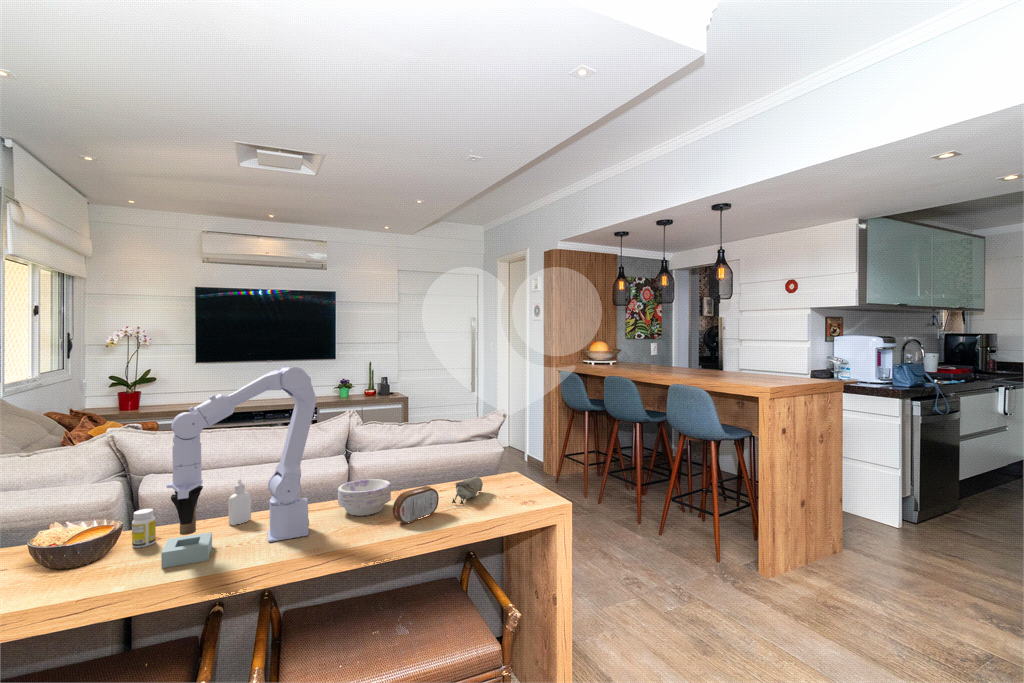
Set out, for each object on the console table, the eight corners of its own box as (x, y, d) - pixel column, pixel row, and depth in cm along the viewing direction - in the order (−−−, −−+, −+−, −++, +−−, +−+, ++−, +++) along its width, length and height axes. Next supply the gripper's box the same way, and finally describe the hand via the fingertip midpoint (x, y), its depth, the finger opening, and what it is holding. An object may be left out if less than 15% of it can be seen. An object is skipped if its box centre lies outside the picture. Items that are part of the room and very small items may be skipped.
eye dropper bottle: (228, 522, 140) (227, 479, 140) (250, 518, 143) (250, 476, 143) (229, 527, 136) (228, 483, 136) (252, 522, 139) (251, 480, 139)
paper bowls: (364, 500, 158) (364, 475, 158) (401, 507, 151) (401, 481, 151) (326, 515, 145) (326, 488, 145) (365, 523, 138) (364, 495, 138)
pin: (197, 529, 119) (197, 495, 119) (194, 533, 116) (194, 499, 116) (181, 531, 118) (181, 497, 118) (178, 535, 115) (178, 501, 115)
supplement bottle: (152, 539, 128) (152, 506, 128) (158, 543, 125) (157, 510, 125) (129, 545, 124) (129, 511, 124) (135, 550, 121) (134, 515, 121)
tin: (433, 510, 148) (433, 482, 148) (440, 513, 146) (440, 484, 146) (391, 525, 136) (391, 494, 136) (398, 528, 134) (398, 497, 134)
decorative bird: (487, 493, 165) (486, 470, 165) (464, 508, 150) (464, 484, 150) (472, 491, 167) (472, 469, 167) (448, 506, 152) (448, 482, 152)
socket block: (212, 546, 123) (211, 532, 123) (208, 560, 115) (208, 545, 115) (168, 553, 119) (168, 538, 119) (161, 568, 111) (161, 552, 111)
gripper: (172, 459, 122) (172, 514, 122) (160, 472, 109) (161, 534, 109) (205, 456, 125) (206, 509, 125) (198, 468, 112) (199, 528, 112)
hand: (187, 521), depth 117 cm, fingers closed on pin, 3 cm apart
